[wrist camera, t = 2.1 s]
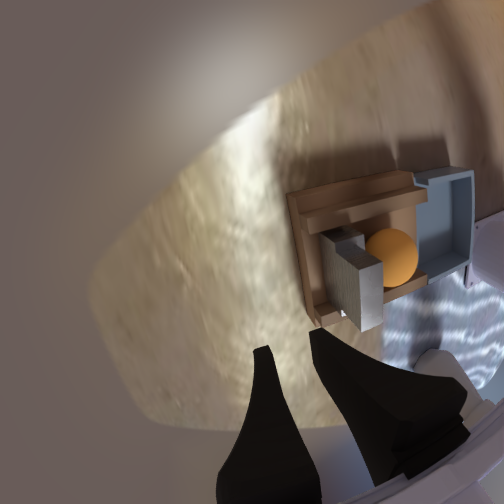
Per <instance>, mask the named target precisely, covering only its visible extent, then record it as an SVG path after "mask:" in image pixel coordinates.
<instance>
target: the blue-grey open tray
mask: <svg viewBox="0 0 504 504" xmlns="http://www.w3.org/2000/svg"><path fill="white" fill-rule="evenodd" d="M413 177H414V185H415V186H419V187H424V188H427V194H428V202H425V203H421V204H418V205H416V225H417V252H418V263H417V267H416V268H418V269H420V270H421V271H423V272H425V273H426V274H427V284H428V285H429V284H431V283H433V282H435V281H437V280H439V279H441V278H443V277H445V276H447V275H449V274H451V273H453V272H455V271H457V270H459V269H461V268H463V267H465V266H466V265H468V264H470V263H472V253H473V240H474V220H475V185H474V170H471V169H466V168H460V167H454V166H448V167H443V168H437V169H432V170H426V171H421V172H416V173H413Z"/></svg>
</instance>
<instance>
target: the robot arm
mask: <svg viewBox="0 0 504 504" xmlns="http://www.w3.org/2000/svg"><path fill="white" fill-rule="evenodd" d="M480 281H484V282H486V283H487V284H489V285H491V286H492V287H494V288H496V289H497V290H499V291H501V292H502V293H504V210H503V211H501V212H498V213H496V214H494V215H492V216H489V217H487V218H484V219H482V220H480V221H477V222H475V223H474V240H473V253H472V263H470V264H468V265H467V273H466V281H465V288H467V289H469V288H470V287H472V286H474V285H475V284H477V283H479V282H480ZM309 337H310V344H311V351H312V358H313V364H314V367H315V369H316V371H317V373H318V375H319V378H320V380H321V382H322V383H323V385H324V387H325V388H326V390H327V391H328V393H329V394H330V396H331V398H332V399H333V401H334V402H335V404H336V405H337V407H338V409H339V410H340V412H341V413H342V415H343V417H344V418H345V420H346V422H347V424H348V426H349V428H350V430H351V432H352V434H353V436H354V438H355V441H356V443H357V445H358V447H359V449H360V451H361V454H362V456H363V458H364V461H365V463H366V466H367V468H368V470H369V473H370V475H371V478H372V480H373V483H374V486H375V488H373V489H371V490H368V491H366V492H364V493H362V494H360V495H357V496H355V497H353V498H350V499H348V500H345V501H343V502H340V503H338V504H495V503H494V502H493V501H492V499H491V498H490V497H489V495H488V494H487V493H486V491H485V490H484V488H483V487H482V486H481V484H480V483H479V481H480V480H481V479H483V478H484V477H485V476H486V475H487V474H488V473H489V472H490V471H491V470H493V469H494V468H495V467H496V466H497V465H498V464H499V463H500V462H501V461H502V460H503V459H504V398H503V399H502V400H501V401H500V402H498V403H497V405H495V406H494V407H493V408H492V409H491V410H490V411H489V412H488V413H486V414H485V415H484V416H483V417H482V418H481V419H480V420H478V421H477V422H476V423H475V424H474V425H472V426H471V427H470V428H469V429H467V428H466V427H465V426H464V425H463V423H462V422H463V417H462V416H461V415H460V412H461V410H462V408H463V406H464V404H465V402H466V399H467V395H468V391H467V390H466V389H465V388H464V387H463V386H462V385H461V384H460V383H459V382H458V381H457V380H456V379H455V378H453V377H444V376H432V375H426V374H420V373H415V372H410V371H407V370H403V369H399V368H396V367H393V366H390V365H387V364H385V363H382V362H380V361H377V360H375V359H373V358H371V357H369V356H367V355H365V354H363V353H361V352H359V351H358V350H356V349H354V348H353V347H351V346H349V345H347V344H346V343H344V342H343V341H341V340H340V339H338V338H337V337H335V336H334V335H332V334H331V333H329V332H328V331H326V330H325V329H324V328H322V327H321V328H318V329H315V330H313V331H310V332H309ZM253 354H254V377H253V386H252V392H251V398H250V402H249V407H248V410H247V414H246V417H245V420H244V423H243V426H242V429H241V431H240V434H239V436H238V438H237V440H236V443H235V445H234V447H233V449H232V451H231V453H230V455H229V456H228V458H227V460H226V462H225V463H224V465H223V466H222V468H221V470H220V471H219V473H218V477H217V484H216V500H217V504H322V500H321V498H322V495H321V486H320V478H319V475H318V472H317V470H316V467H315V465H314V462H313V460H312V458H311V456H310V454H309V452H308V450H307V448H306V446H305V444H304V442H303V440H302V438H301V435H300V433H299V431H298V429H297V426H296V424H295V422H294V420H293V417H292V415H291V413H290V410H289V408H288V405H287V403H286V401H285V398H284V396H283V392H282V389H281V385H280V381H279V377H278V373H277V369H276V365H275V361H274V357H273V354H272V352H271V350H270V347H269V345H266V346H263V347H260V348H256V349H254V351H253Z"/></svg>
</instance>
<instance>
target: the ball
mask: <svg viewBox="0 0 504 504" xmlns="http://www.w3.org/2000/svg"><path fill="white" fill-rule="evenodd" d="M365 251H367V252H368V253H370V254H372V255H373V256H375V257H376V258H378V259H379V260H381V261H383V286H385V287H395V286H399V285H401V284H403V283H405V282H406V281H408V280H409V279H410V278H411V276H412V275H413V274H414V272H415V270H416V267H417V263H418V252H417V248H416V245H415V243H414V241H413V240H412V239H411V237H410V236H409V235H407V234H406V233H405V232H403V231H401V230H398V229H393V228H387V229H382V230H380V231H378V232H376V233H375V234H373V235H372V236H371V237H370V238H369V240H368V241H367V243H366V245H365Z"/></svg>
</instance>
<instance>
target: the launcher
mask: <svg viewBox="0 0 504 504" xmlns="http://www.w3.org/2000/svg"><path fill="white" fill-rule="evenodd" d="M286 197H287V202H288V207H289V212H290V217H291V222H292V228H293V233H294V238H295V244H296V249H297V255H298V261H299V266H300V272H301V278H302V284H303V290H304V297H305V303H306V309H307V315H308V316H309V318H310V319H311V321H312V322H313V324H314V325H315V327H319V326H321V327H322V328H324V327H327V326H329V325H332V324H335V323H338V322H340V321H343V320H346V319H348V317H347V316H343V317H341V315H340V314H339V313H338V312H337V311H336V310H335V308H334V307H333V306H332V305H331V304H330V303H329V301H328V300H327V297H326V288H325V280H324V272H323V264H322V257H321V250H320V243H319V236H318V232H321V231H325V230H328V229H332V228H336V227H339V226H343V225H347V226H349V227H351V228H353V229H355V230H357V231H359V232H361V233H363V234H364V241H365V245H366V243H367V241H368V240H369V238H370V237H371V236H372V235H373V234H375V233H376V232H378V231H380V230H382V229H387V228H393V229H398V230H401V231H403V232H405V233H406V234H407V235H409V236H410V237H411V239H412V240H413V241H414V243H415V245H416V248H417V225H416V205H418V204H421V203H425V202H428V194H427V188H424V187H419V186H415V185H414V177H413V172H407V171H401V170H395V171H390V172H384V173H379V174H374V175H369V176H364V177H360V178H355V179H350V180H345V181H341V182H336V183H332V184H327V185H323V186H318V187H314V188H309V189H305V190H301V191H297V192H293V193H288V194H286ZM425 285H427V274H426V273H425V272H423V271H421V270H420V269H418V268H416V270H415V272H414V274H413V275H412V276H411V278H410V279H409V280H408V281H406V282H405V283H403V284H401V285H399V286H395V287H385V286H383V304H385V303H388V302H390V301H392V300H395V299H397V298H399V297H401V296H404V295H406V294H408V293H410V292H412V291H415V290H417V289H419V288H421V287H423V286H425Z"/></svg>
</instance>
